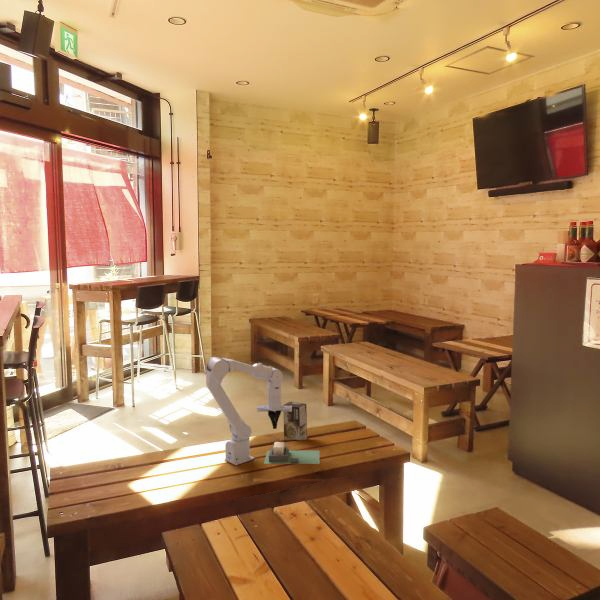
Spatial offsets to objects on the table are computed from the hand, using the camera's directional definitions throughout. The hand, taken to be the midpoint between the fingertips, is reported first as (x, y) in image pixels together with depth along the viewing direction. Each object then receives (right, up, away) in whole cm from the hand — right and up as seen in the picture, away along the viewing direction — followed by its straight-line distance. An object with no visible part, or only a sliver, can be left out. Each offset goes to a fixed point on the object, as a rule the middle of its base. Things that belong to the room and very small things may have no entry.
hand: (274, 428), depth 210 cm
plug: (+2, -10, -7) cm, 12 cm away
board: (+8, -11, -7) cm, 15 cm away
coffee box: (+9, -9, +17) cm, 21 cm away
